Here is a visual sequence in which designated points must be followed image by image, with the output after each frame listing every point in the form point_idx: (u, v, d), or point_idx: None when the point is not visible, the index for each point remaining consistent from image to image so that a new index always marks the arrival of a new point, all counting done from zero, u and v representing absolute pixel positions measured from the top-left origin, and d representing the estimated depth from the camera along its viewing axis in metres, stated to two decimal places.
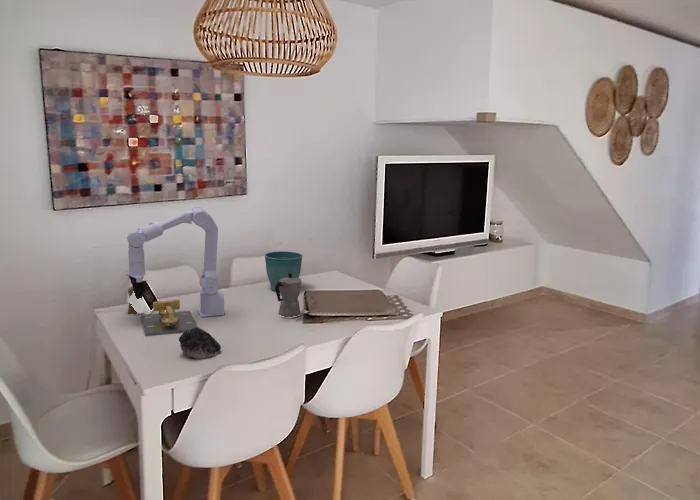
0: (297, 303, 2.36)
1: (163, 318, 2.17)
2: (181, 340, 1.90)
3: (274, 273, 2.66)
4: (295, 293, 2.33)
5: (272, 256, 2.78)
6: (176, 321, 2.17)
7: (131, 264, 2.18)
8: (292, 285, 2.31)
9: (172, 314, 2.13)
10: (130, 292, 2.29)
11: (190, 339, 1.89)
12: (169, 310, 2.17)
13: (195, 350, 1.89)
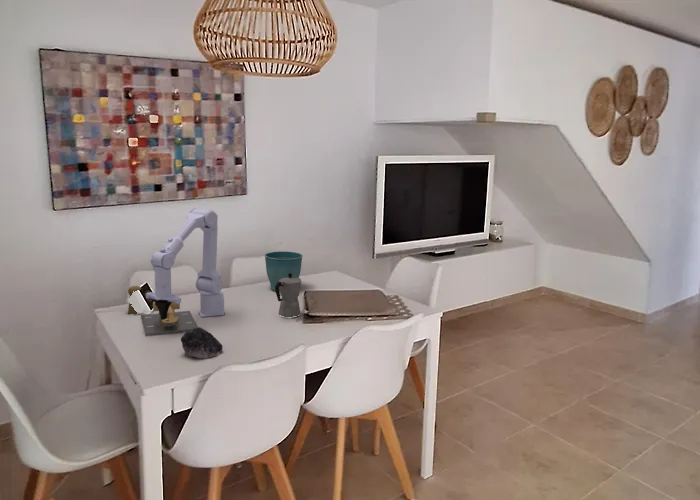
0: (297, 303, 2.36)
1: None
2: (183, 340, 1.91)
3: (274, 273, 2.66)
4: (295, 293, 2.33)
5: (272, 256, 2.78)
6: (176, 321, 2.17)
7: (163, 287, 2.08)
8: (292, 285, 2.31)
9: (172, 314, 2.13)
10: (130, 292, 2.29)
11: (192, 339, 1.90)
12: (169, 310, 2.17)
13: (197, 350, 1.89)
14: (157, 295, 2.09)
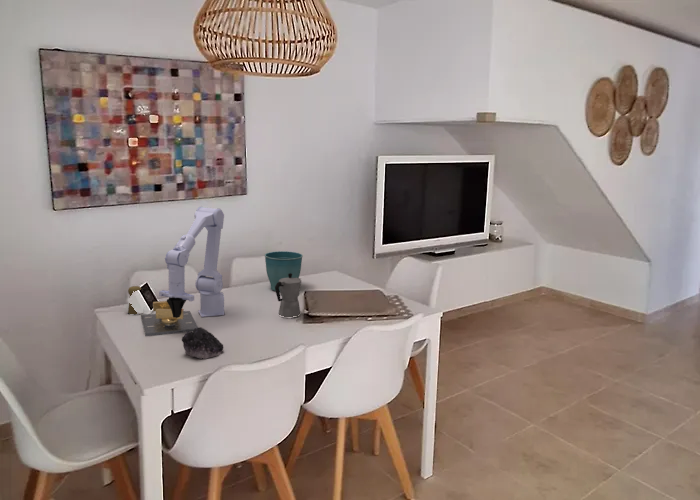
0: (297, 303, 2.36)
1: (167, 320, 2.15)
2: (184, 340, 1.91)
3: (274, 273, 2.66)
4: (295, 293, 2.33)
5: (272, 256, 2.78)
6: None
7: (177, 284, 2.10)
8: (292, 285, 2.31)
9: (183, 310, 2.17)
10: (130, 292, 2.29)
11: (193, 339, 1.90)
12: (170, 309, 2.17)
13: (198, 350, 1.89)
14: (170, 293, 2.11)
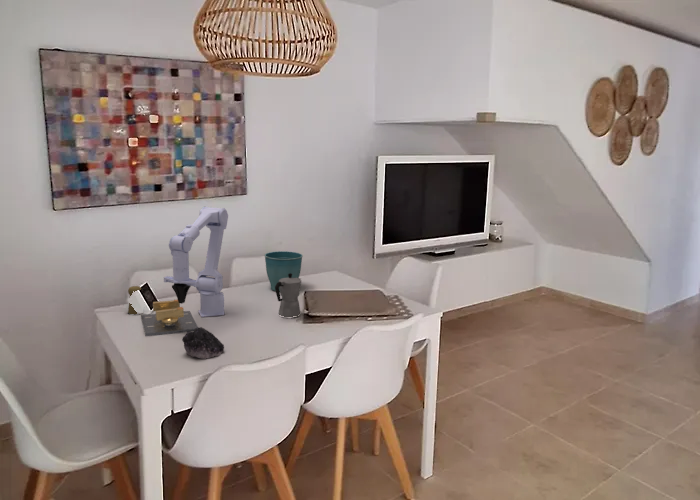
0: (297, 303, 2.36)
1: (170, 320, 2.15)
2: (185, 340, 1.91)
3: (274, 273, 2.66)
4: (295, 293, 2.33)
5: (272, 256, 2.78)
6: None
7: (181, 270, 2.10)
8: (292, 285, 2.31)
9: None
10: (130, 292, 2.29)
11: (194, 339, 1.90)
12: (170, 309, 2.17)
13: (199, 350, 1.89)
14: (175, 279, 2.11)
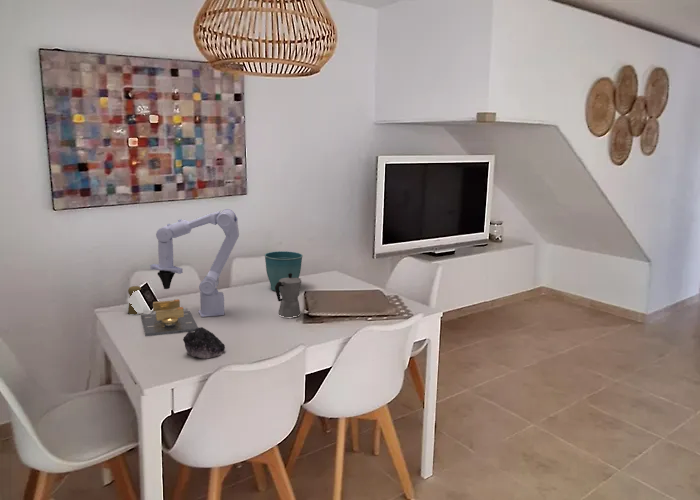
0: (297, 303, 2.36)
1: (170, 320, 2.15)
2: (185, 340, 1.91)
3: (274, 273, 2.66)
4: (295, 293, 2.33)
5: (272, 256, 2.78)
6: None
7: (166, 258, 2.27)
8: (292, 285, 2.31)
9: None
10: (130, 292, 2.29)
11: (195, 339, 1.90)
12: (170, 309, 2.17)
13: (200, 350, 1.89)
14: (160, 266, 2.28)
